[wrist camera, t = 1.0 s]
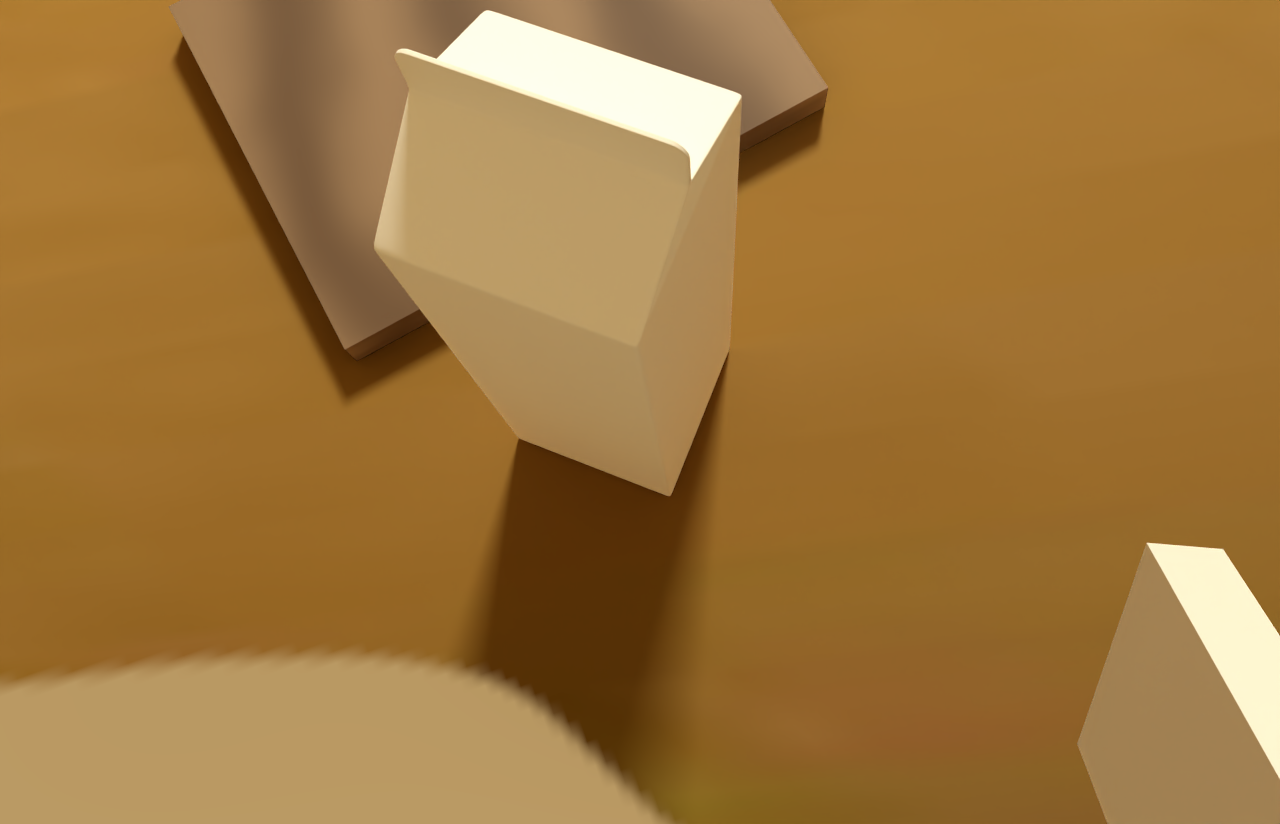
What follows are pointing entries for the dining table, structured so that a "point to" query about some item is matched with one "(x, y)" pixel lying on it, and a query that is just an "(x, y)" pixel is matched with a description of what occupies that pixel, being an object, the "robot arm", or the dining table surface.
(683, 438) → the milk
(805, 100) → the tan board
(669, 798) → the dining table surface
